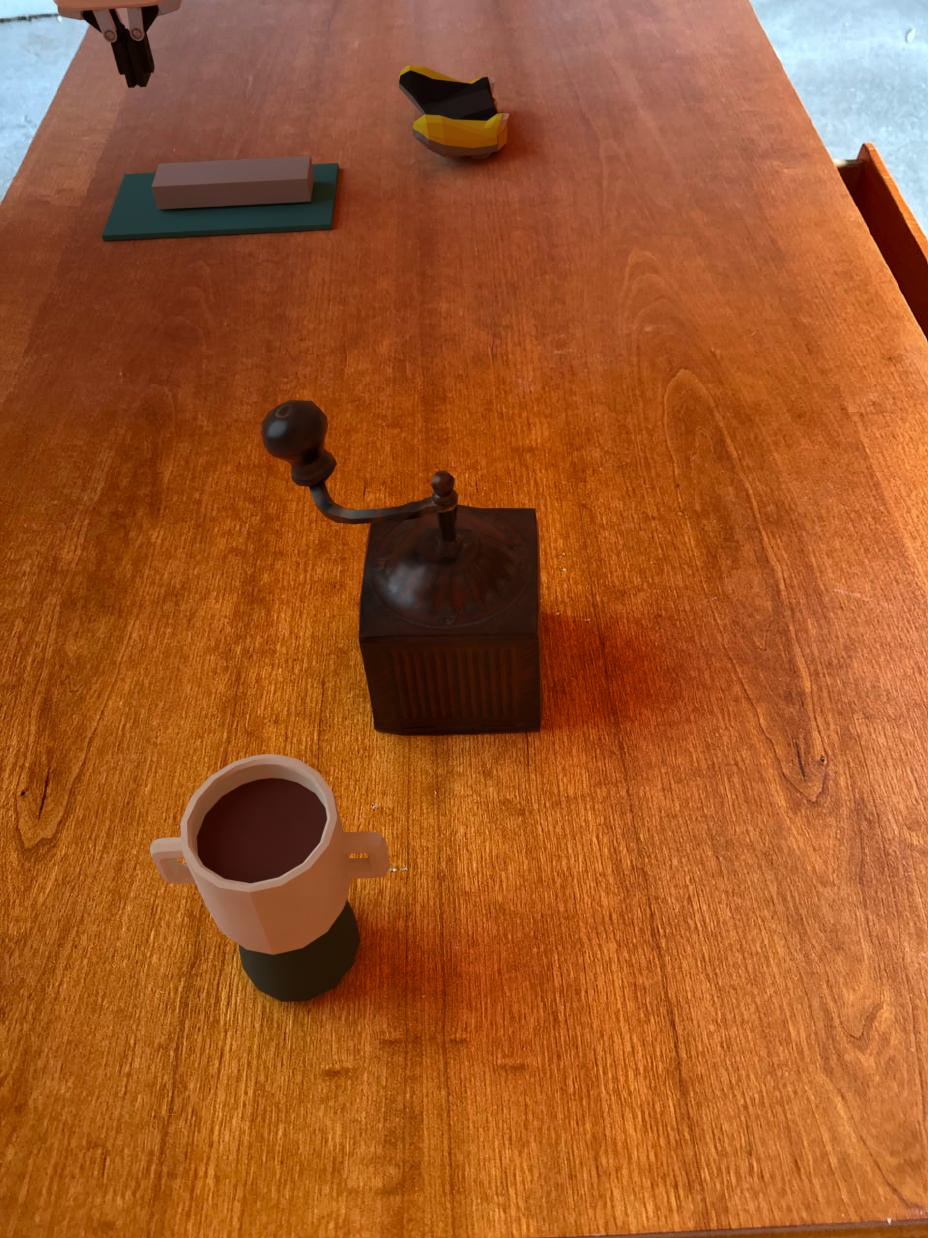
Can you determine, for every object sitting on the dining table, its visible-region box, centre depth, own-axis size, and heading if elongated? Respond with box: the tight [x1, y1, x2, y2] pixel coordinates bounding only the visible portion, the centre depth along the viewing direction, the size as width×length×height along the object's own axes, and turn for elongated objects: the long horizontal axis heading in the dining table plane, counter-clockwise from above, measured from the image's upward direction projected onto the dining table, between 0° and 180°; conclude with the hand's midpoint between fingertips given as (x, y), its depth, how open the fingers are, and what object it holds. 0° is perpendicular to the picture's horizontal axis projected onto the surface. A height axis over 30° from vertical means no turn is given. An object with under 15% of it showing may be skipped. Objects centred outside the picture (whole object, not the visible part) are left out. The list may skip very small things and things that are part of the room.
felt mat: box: [101, 162, 340, 242], centre depth 113 cm, size 22×12×1 cm, turn 91°
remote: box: [152, 155, 314, 209], centre depth 111 cm, size 3×5×15 cm
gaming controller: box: [398, 64, 510, 160], centre depth 118 cm, size 15×6×10 cm
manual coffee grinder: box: [260, 399, 544, 736], centre depth 66 cm, size 16×11×18 cm
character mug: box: [149, 753, 391, 1003], centre depth 55 cm, size 11×7×13 cm, turn 90°
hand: (139, 80), depth 104 cm, fingers closed
